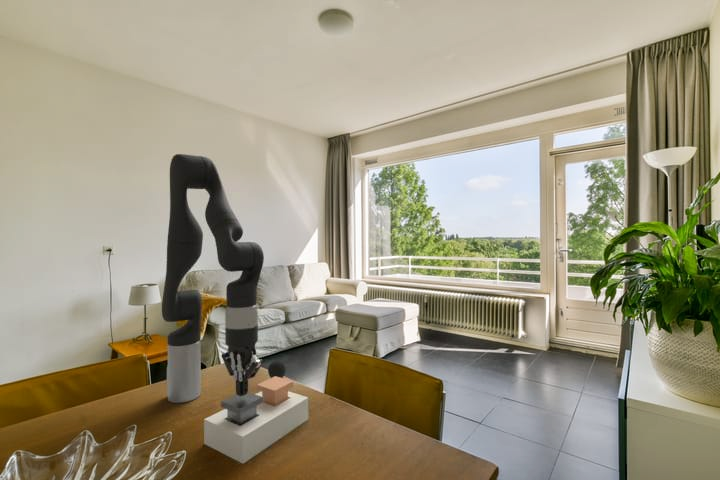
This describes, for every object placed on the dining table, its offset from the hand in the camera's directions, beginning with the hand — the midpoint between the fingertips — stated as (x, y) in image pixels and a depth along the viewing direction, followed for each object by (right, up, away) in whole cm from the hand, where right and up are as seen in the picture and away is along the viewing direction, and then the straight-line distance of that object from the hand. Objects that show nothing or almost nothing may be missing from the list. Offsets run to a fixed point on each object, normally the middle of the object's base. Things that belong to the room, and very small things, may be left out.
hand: (242, 394), depth 84 cm
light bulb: (+2, -12, +28) cm, 30 cm away
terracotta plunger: (+6, -8, +9) cm, 13 cm away
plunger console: (+3, -12, +5) cm, 13 cm away
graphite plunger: (0, -8, 0) cm, 8 cm away
